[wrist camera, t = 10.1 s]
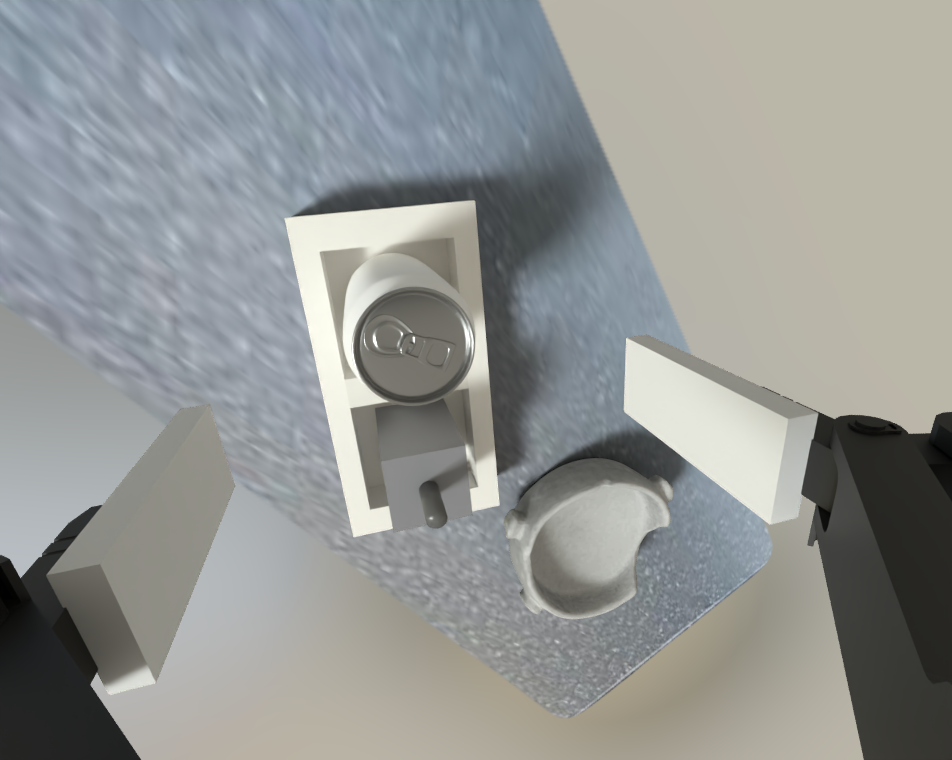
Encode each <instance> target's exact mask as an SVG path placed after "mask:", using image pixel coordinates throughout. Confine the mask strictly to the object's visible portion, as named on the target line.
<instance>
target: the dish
mask: <svg viewBox="0 0 952 760" xmlns="http://www.w3.org/2000/svg"><path fill="white" fill-rule="evenodd" d="M673 494H674V493H673V487H672V486H671V485H670V484H669V483H668V482H667V481H666V480H665V479H664V478H662V477H660V476H658V475H653V476H651V477H650V478H645V477H644V476H642V475H641V474H639V473H638V472H636V471H635V470H633V469H631V468H629V467H628V466H626V465H624V464H622V463H619V462H617V461H613V460H610V459H604V458H590V459H582V460H578V461H574V462H571V463H568V464H565V465H563V466H560V467H558V468H557V469H555V470H553V471H551V472H550V473H548V474H547V475H545V476H544V477H543V478H541V479H540V480H539V481H538V482H537V483H535V484H534V485H533V486H532V487H531V488H530V489H529V490H528V491H527V492H526V493H525V494H524V496H523V497H522V498H521V500H520V501H519V503H518V504H517V506H516V508H515V509H512V510H510V511H509V512H508V513H507V515H506V517H505V519H504V526H505V531H506V537H507V538H508V539H509V551H510V556H511V560H512V563H513V566H514V568H515V571H516V573H517V575H518V578H519V580H520V582H521V583H522V585H523V590H522V591H521V592H520V597H521V599H522V600H523V602H524V603H525V605H526V606H527V608H529V610H530V611H532V612H533V613H535V614H539V613H540V612H541V611H542V609H546V610H547V611H549V612H550V613H552V614H553V615H555V616H558V617H561V618H566V619H582V618H588V617H593V616H597V615H600V614H604V613H606V612H608V611H611V610H613V609H615V608H617V607H618V606H620V605H621V604H622V603H624V602H626V601H628V600H629V599H631V598H632V597H633V596H634V595H635V594H636V592H637V575H636V562H637V556H638V551H639V547H640V543H641V542H642V540H643V538H644V537H645V535H646V534H647V533H648V532H649V531H651V530H654V529H656V528H658V527H667V526H668V525H669V524H670V522H671V518H670V511H669V507H668V502H669V501H671V499H672V498H673Z"/></svg>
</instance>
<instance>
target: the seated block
mask: <svg viewBox="0 0 952 760" xmlns="http://www.w3.org/2000/svg"><path fill="white" fill-rule="evenodd" d="M375 413H376V422H377V431H378V440H379V450H380V459H381V465H382V471H383V477H384V482H385V488H386V493H387V499H388V505H389V510H390V516H391V521H392V527H393V532H398V531H402V530H407V529H411V528H416V527H421V526H425V525H428V526H429V527H431V528H440V527H442V526H444V525H445V524H446V522H447V521H448V520H452V519H457V518H461V517H466V516H470V515H473V514H472V504H471V495H470V485H469V476H468V466H467V457H466V447H465V444H464V442H463V439H462V437H461V435H460V433H459V431H458V429H457V427H456V424H455V422H454V420H453V418H452V416H451V414H450V412H449V409H448V407H447V405H446V403H445V401H444V399H443V398H442V399H440V400H438V401H435V402H432V403H429V404H425V405H419V406H405V405H399V404H396V405H390V406H384V407H378V408H375Z"/></svg>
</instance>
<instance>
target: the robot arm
mask: <svg viewBox="0 0 952 760" xmlns="http://www.w3.org/2000/svg"><path fill="white" fill-rule="evenodd" d="M624 412H625V413H627V414H628V415H629V416H631V417H632V418H633V419H634V420H636V421H637V422H638V423H640V424H641V425H642V426H643V427H645V428H646V429H647V430H649V431H650V432H651V433H652V434H654V435H655V436H656V437H658V438H659V439H660V440H661V441H663V442H664V443H665V444H667V445H668V446H669V447H670V448H672V449H673V450H674V451H676V452H677V453H678V454H679V455H681V456H682V457H683V458H685V459H686V460H687V461H689V462H690V463H691V464H692V465H694V466H695V467H696V468H698V469H699V470H700V471H701V472H703V473H704V474H705V475H707V476H708V477H709V478H710V479H712V480H713V481H714V482H716V483H717V484H718V485H719V486H721V487H722V488H723V489H725V490H726V491H727V492H728V493H730V494H731V495H732V496H734V497H735V498H736V499H738V500H739V501H740V502H741V503H743V504H744V505H745V506H747V507H748V508H749V509H750V510H752V511H753V512H754V513H756V514H757V515H758V516H759V517H761V518H762V519H763V520H765V521H766V522H767V523H769V524H770V525H771V524H775V523H779V522H783V521H786V520H791V519H794V518H798V513H799V508H800V503H801V498H802V495H803V496H805V497H806V498H808V499H809V500H811V501H813V502H814V503H816V507H815V512H814V516H813V521H812V526H811V530H810V536H809V540H808V545H809V546H813V545H814V541H815V540H818V544H819V549H820V554H821V559H822V563H823V568H824V573H825V577H826V582H827V587H828V591H829V597H830V601H831V606H832V611H833V615H834V620H835V625H836V630H837V634H838V639H839V644H840V649H841V653H842V658H843V662H844V667H845V672H846V677H847V681H848V686H849V691H850V695H851V701H852V705H853V710H854V715H855V720H856V724H857V729H858V734H859V738H860V743H861V748H862V753H863V758H864V760H952V412H946V413H941V414H938V415H936V418H935V421H934V424H933V427H932V430H931V433H926V434H908V432H907V431H906V430H904V429H903V428H902V427H901V426H899V425H897V424H895V423H892V422H890V421H887V420H883V419H880V418H876V417H871V416H863V415H847V416H840V417H838V418H836V419H833V418H831V417H828V416H826V415H824V414H822V413H820V412H817V411H815V410H813V409H811V408H808V407H806V406H804V405H802V404H800V403H798V402H793V400H791V399H789V398H786V397H784V396H780V394H778V393H776V392H773V391H771V390H769V389H767V388H765V387H761V386H758V385H756V384H754V383H752V382H750V381H747V380H745V379H743V378H741V377H739V376H736V375H734V374H732V373H730V372H728V371H725V370H723V369H721V368H719V367H717V366H715V365H712V364H710V363H708V362H706V361H704V360H701V359H699V358H697V357H695V356H693V355H691V354H688V353H686V352H684V351H682V350H680V349H677V348H675V347H673V346H671V345H669V344H666V343H664V342H662V341H660V340H658V339H655V338H653V337H651V336H649V335H641V336H634V337H628V338H626V363H625V392H624ZM234 487H235V483H234V480H233V477H232V474H231V471H230V468H229V464H228V461H227V458H226V455H225V452H224V449H223V445H222V442H221V439H220V436H219V433H218V429H217V426H216V423H215V420H214V417H213V414H212V410H211V407H210V404H208V405H202V406H196V407H190V408H183V409H180V410H179V411H178V413H177V414H176V415H175V416H174V418H173V419H172V420H171V421H170V423H169V424H168V425H167V426H166V428H165V429H164V430H163V431H162V432H161V434H160V435H159V436H158V437H157V439H156V440H155V441H154V442H153V444H152V445H151V446H150V447H149V449H148V450H147V451H146V452H145V453H144V455H143V456H142V457H141V458H140V460H139V461H138V462H137V463H136V465H135V466H134V467H133V468H132V470H131V471H130V472H129V473H128V475H127V476H126V477H125V478H124V479H123V481H122V482H121V483H120V484H119V486H118V487H117V488H116V489H115V491H114V492H113V493H112V494H111V496H110V497H109V498H108V499H107V501H106V502H105V503H104V504H103V505H99V506H94V507H91V508H89V509H88V510H87V511H85V512H84V513H82V514H81V515H80V516H78V517H77V518H75V519H74V520H72V521H71V522H70V523H68V525H67V526H66V527H65V528H64V529H63V530H62V532H61V533H60V534H59V535H58V536H57V537H56V538H55V540H54V543H51V544H50V545H49V546H48V548H47V549H46V550H45V551H44V552H43V553H42V557H39V558H38V559H37V560H36V561H35V563H34V564H33V565H32V566H31V567H30V568H29V569H28V571H27V572H26V573H25V574H24V575H23V576H22V577H21V579H20V577H19V575H18V573H17V571H16V570H15V568H14V566H13V564H12V563H11V561H10V559H8V558H6V557H4V556H2V555H0V760H141V759H140V757H139V756H138V755H137V753H136V752H135V750H134V749H133V747H132V746H131V744H130V743H129V741H128V740H127V738H126V737H125V735H124V734H123V732H122V731H121V730H120V728H119V727H118V725H117V724H116V722H115V721H114V719H113V718H112V716H111V715H110V713H109V712H108V710H107V709H106V708H105V706H104V705H103V703H102V702H101V700H100V699H99V697H98V696H97V694H96V693H95V691H94V690H93V688H92V687H91V685H90V684H91V682H92V680H93V678H94V677H95V675H96V673H98V675H99V677H100V679H101V681H102V683H103V684H104V686H105V688H106V690H107V692H108V694H109V695H111V694H115V693H119V692H123V691H127V690H130V689H134V688H139V687H142V686H146V685H150V684H154V683H156V682H157V679H158V677H159V674H160V672H161V669H162V667H163V664H164V661H165V659H166V657H167V654H168V652H169V649H170V647H171V644H172V642H173V639H174V637H175V634H176V632H177V629H178V627H179V624H180V622H181V619H182V617H183V614H184V612H185V610H186V607H187V605H188V602H189V599H190V597H191V595H192V592H193V590H194V587H195V585H196V582H197V580H198V577H199V575H200V572H201V570H202V567H203V565H204V562H205V560H206V557H207V555H208V552H209V550H210V547H211V545H212V542H213V540H214V537H215V535H216V532H217V530H218V527H219V525H220V522H221V520H222V517H223V515H224V512H225V510H226V507H227V505H228V502H229V500H230V497H231V495H232V492H233V490H234Z"/></svg>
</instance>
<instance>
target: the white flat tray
mask: <svg viewBox="0 0 952 760" xmlns="http://www.w3.org/2000/svg"><path fill="white" fill-rule="evenodd" d="M285 222H286V227H287V231H288V236H289V241H290V245H291V250H292V255H293V259H294V264H295V269H296V273H297V278H298V282H299V287H300V292H301V296H302V301H303V306H304V310H305V315H306V319H307V324H308V329H309V333H310V338H311V343H312V347H313V352H314V356H315V361H316V366H317V370H318V375H319V380H320V384H321V389H322V393H323V398H324V403H325V407H326V412H327V417H328V421H329V426H330V430H331V435H332V440H333V444H334V449H335V454H336V458H337V463H338V468H339V472H340V477H341V481H342V486H343V491H344V495H345V500H346V505H347V509H348V514H349V518H350V523H351V528H352V532H353V537H357V536H362V535H366V534H371V533H375V532H380V531H384V530H389V529H393V527H392V521H391V516H390V510H389V505H388V499H387V493H386V488H385V482H384V477H383V471H382V465H381V459H380V450H379V440H378V431H377V422H376V413H375V408H378V407H384V406H390V405H396V404H395V403H391V402H389V401H386V400H384V399H382V398H380V397H379V396H377V395H376V394H375V393H373V392H372V391H371V390H370V389H369V388H367V387H366V386H365V385H364V384H363V383H362V382H361V381H360V380H359V379H358V378H357V377H356V375H355V374H354V373H353V371H352V369H351V368H350V366H349V363H348V361H347V358H346V355H345V352H344V347H343V318H344V307H345V298H346V291H347V287H348V283H349V281H350V278H351V276H352V275H353V273H354V272H355V271H356V270H357V268H358V267H360V266H361V265H362V264H363V263H364V262H366V261H367V260H369V259H371V258H373V257H375V256H378V255H381V254H386V253H400V254H405V255H409V256H412V257H414V258H416V259H418V260H420V261H421V262H423V263H424V264H425V265H427V266H428V267H429V268H430V269H432V270H433V271H434V272H435V273H437V274H438V275H439V276H440V277H441V278H443V279H444V280H445V281H446V282H447V283H448V284H450V285H451V286H452V287H453V288H454V289H455V290H456V291H457V292H458V293H459V294H460V295H461V297H462V298H463V299H464V301H465V302H466V304H467V306H468V308H469V310H470V312H471V314H472V317H473V321H474V325H475V334H476V339H475V353H474V358H473V362H472V365H471V368H470V370H469V372H468V374H467V375H466V377H465V379H464V380H463V381H462V383H461V384H460V385H459V386H458V387H457V388H456V389H455V390H454V391H452V392H451V393H450V394H448V395H447V396H445V397H444V398H443V399H444V401H445V403H446V405H447V407H448V409H449V412H450V414H451V416H452V418H453V420H454V422H455V424H456V427H457V429H458V431H459V433H460V435H461V437H462V439H463V442H464V444H465V447H466V457H467V466H468V476H469V485H470V495H471V504H472V511H476V510H480V509H485V508H489V507H494V506H499V494H498V482H497V469H496V457H495V444H494V432H493V419H492V406H491V394H490V381H489V369H488V356H487V344H486V331H485V319H484V306H483V293H482V281H481V268H480V256H479V243H478V231H477V218H476V206H475V200H470V201H455V202H444V203H433V204H423V205H412V206H401V207H390V208H380V209H369V210H358V211H347V212H336V213H326V214H315V215H304V216H293V217H288V218H285Z"/></svg>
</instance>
